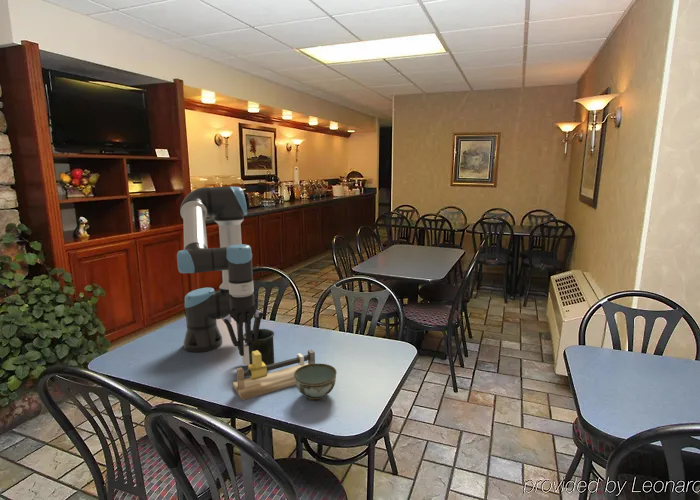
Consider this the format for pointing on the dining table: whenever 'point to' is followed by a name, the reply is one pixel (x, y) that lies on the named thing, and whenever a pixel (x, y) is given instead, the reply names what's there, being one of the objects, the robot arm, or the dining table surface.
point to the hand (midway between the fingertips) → (246, 363)
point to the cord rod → (280, 364)
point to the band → (301, 359)
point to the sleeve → (257, 366)
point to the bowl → (315, 380)
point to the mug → (263, 346)
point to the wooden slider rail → (267, 380)
